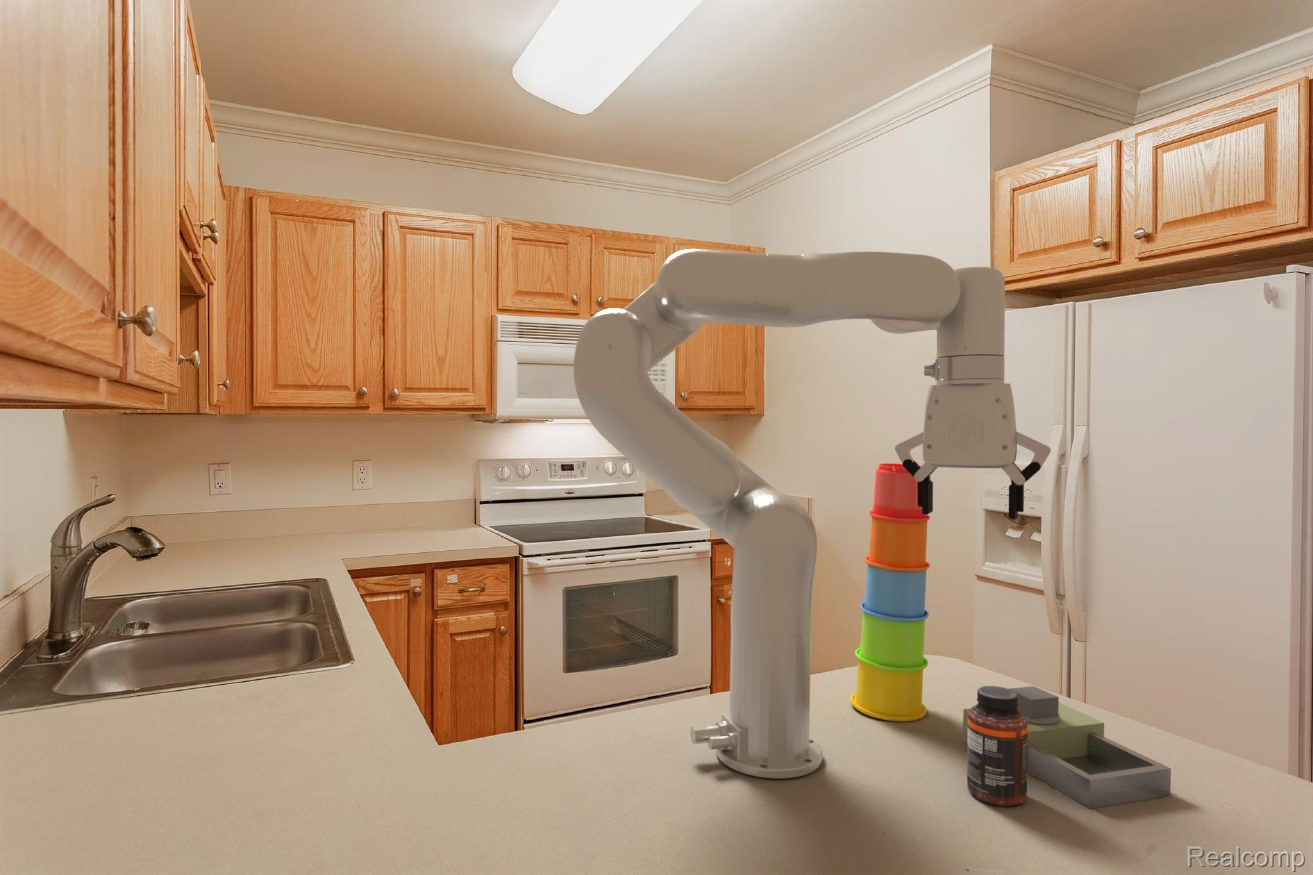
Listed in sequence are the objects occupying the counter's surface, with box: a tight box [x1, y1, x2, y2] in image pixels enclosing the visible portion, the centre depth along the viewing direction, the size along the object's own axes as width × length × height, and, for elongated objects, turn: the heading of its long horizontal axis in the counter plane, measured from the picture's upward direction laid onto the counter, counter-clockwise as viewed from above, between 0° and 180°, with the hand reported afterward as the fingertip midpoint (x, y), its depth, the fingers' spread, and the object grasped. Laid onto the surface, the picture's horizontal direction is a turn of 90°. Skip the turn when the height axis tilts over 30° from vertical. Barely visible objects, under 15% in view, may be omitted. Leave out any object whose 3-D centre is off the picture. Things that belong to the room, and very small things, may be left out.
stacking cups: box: [850, 462, 931, 723], centre depth 106 cm, size 10×10×35 cm
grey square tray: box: [1027, 732, 1172, 810], centre depth 85 cm, size 11×10×3 cm
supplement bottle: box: [966, 685, 1028, 807], centre depth 82 cm, size 6×6×11 cm
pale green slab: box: [962, 685, 1105, 759], centre depth 94 cm, size 14×8×7 cm, turn 106°
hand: (969, 515), depth 91 cm, fingers open, 9 cm apart
